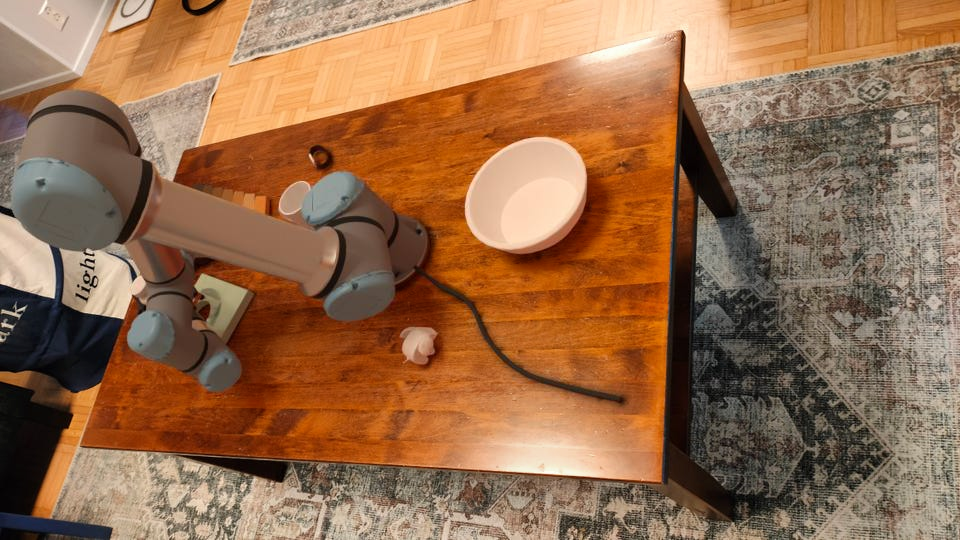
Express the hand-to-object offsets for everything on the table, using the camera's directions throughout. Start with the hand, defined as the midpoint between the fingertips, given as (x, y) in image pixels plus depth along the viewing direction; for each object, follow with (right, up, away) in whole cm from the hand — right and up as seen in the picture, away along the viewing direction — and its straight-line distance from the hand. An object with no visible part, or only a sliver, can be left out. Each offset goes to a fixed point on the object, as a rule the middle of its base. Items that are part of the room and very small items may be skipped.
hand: (148, 283), depth 141 cm
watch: (+34, +29, +14) cm, 47 cm away
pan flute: (+10, +17, +21) cm, 29 cm away
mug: (+37, +12, +3) cm, 39 cm away
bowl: (+82, +13, -23) cm, 86 cm away
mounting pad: (+11, -8, +6) cm, 15 cm away
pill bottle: (+6, -5, +2) cm, 8 cm away
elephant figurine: (+62, -12, -25) cm, 68 cm away
